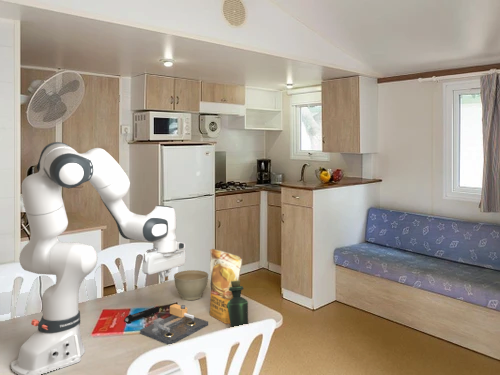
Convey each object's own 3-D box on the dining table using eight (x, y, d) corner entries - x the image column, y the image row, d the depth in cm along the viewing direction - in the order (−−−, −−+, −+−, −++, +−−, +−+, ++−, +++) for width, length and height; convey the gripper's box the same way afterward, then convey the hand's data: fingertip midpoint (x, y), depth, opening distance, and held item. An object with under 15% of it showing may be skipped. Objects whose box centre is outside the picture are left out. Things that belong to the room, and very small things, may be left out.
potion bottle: (252, 325, 162) (248, 279, 166) (246, 329, 155) (242, 280, 158) (233, 326, 165) (229, 280, 168) (226, 330, 157) (222, 282, 160)
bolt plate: (169, 345, 148) (169, 329, 147) (140, 333, 157) (139, 318, 156) (208, 325, 165) (208, 310, 164) (179, 315, 174) (179, 302, 174)
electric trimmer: (161, 314, 176) (161, 307, 176) (128, 325, 165) (128, 317, 165) (156, 312, 179) (156, 305, 179) (123, 322, 168) (123, 314, 168)
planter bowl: (215, 297, 196) (215, 275, 195) (187, 306, 185) (186, 282, 184) (195, 288, 207) (195, 267, 206) (167, 296, 196) (167, 274, 195)
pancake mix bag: (216, 309, 182) (216, 246, 179) (243, 323, 167) (243, 255, 165) (203, 312, 178) (203, 249, 175) (230, 327, 163) (230, 258, 160)
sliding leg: (191, 323, 162) (191, 310, 161) (169, 316, 169) (169, 303, 168) (196, 321, 164) (196, 308, 164) (175, 313, 171) (175, 301, 171)
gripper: (150, 251, 151) (150, 288, 152) (188, 243, 168) (188, 276, 169) (138, 249, 155) (138, 285, 156) (177, 241, 172) (177, 273, 173)
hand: (164, 280), depth 163 cm, fingers closed
